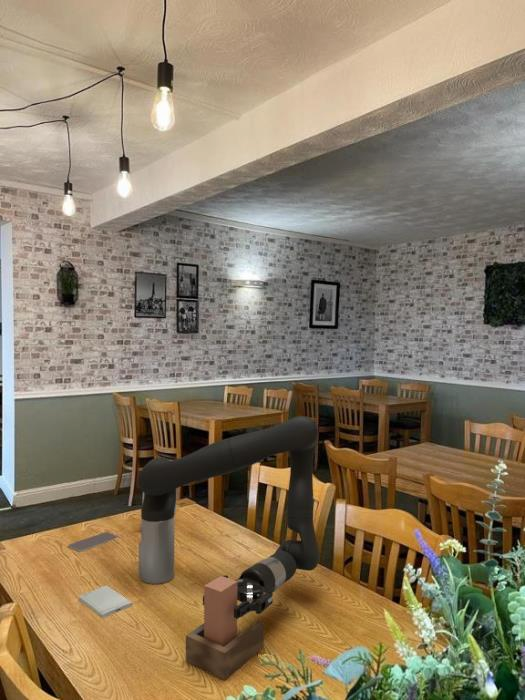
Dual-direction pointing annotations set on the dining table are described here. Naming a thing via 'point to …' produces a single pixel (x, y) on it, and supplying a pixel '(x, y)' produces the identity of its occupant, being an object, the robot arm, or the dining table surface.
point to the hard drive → (105, 601)
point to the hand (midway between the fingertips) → (219, 607)
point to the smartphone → (92, 542)
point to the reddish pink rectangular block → (220, 610)
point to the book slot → (223, 650)
